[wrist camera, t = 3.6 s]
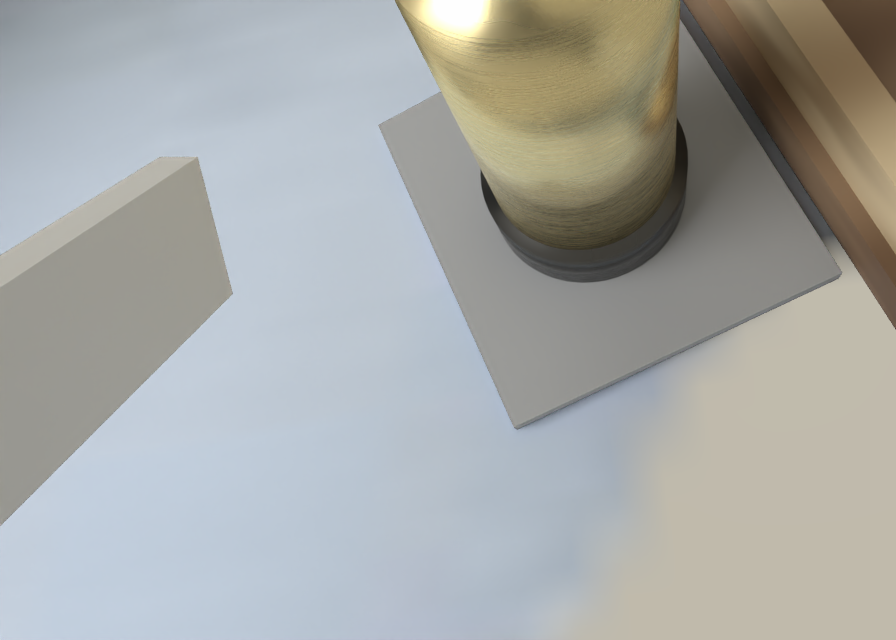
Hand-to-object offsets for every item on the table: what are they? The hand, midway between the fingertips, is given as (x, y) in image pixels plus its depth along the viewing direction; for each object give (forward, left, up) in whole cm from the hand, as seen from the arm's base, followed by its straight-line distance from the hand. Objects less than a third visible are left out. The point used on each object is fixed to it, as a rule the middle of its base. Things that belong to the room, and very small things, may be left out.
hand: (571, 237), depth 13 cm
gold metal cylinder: (-4, +1, -9) cm, 10 cm away
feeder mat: (-4, +1, -9) cm, 10 cm away
